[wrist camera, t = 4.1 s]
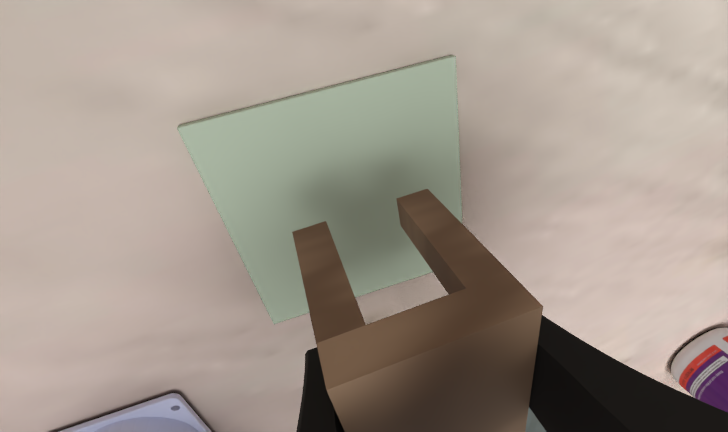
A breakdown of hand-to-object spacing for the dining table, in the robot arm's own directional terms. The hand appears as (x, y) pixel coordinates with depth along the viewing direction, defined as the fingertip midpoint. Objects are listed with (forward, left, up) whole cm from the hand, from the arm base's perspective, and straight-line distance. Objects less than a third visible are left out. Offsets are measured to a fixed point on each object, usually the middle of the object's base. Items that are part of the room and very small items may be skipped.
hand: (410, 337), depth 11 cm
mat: (0, 0, -9) cm, 9 cm away
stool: (-1, 0, -3) cm, 3 cm away
